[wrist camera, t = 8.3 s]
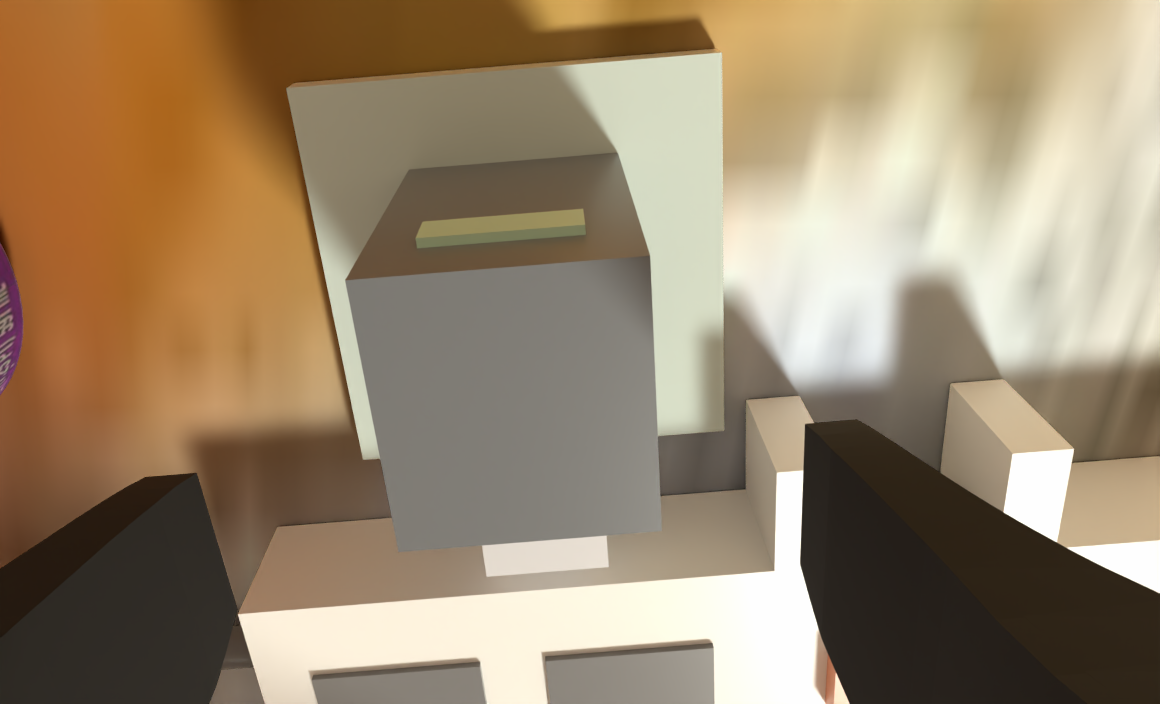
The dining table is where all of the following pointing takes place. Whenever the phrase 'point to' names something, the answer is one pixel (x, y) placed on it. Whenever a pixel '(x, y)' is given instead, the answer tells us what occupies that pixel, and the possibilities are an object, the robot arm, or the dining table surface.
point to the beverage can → (9, 321)
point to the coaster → (537, 131)
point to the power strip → (651, 583)
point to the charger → (512, 361)
